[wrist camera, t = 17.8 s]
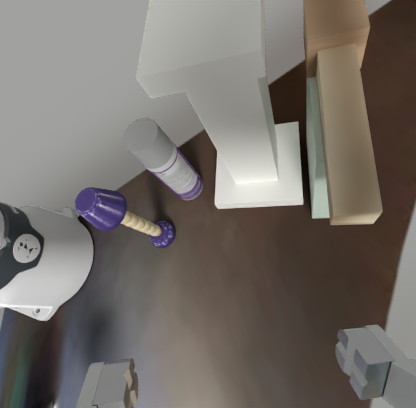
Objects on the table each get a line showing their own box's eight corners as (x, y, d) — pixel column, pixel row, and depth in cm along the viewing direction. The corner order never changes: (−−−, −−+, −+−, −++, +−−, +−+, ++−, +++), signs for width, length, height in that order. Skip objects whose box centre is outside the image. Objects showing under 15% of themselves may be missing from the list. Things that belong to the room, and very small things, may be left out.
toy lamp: (171, 253, 42) (97, 222, 27) (144, 249, 43) (60, 218, 28) (178, 222, 43) (111, 177, 28) (152, 220, 45) (75, 176, 30)
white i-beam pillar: (218, 208, 42) (109, 84, 18) (221, 139, 46) (135, -35, 22) (303, 204, 38) (299, 41, 15) (298, 129, 42) (289, -92, 19)
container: (173, 179, 46) (120, 126, 33) (199, 169, 45) (155, 110, 32) (179, 204, 44) (123, 159, 31) (206, 194, 43) (161, 143, 30)
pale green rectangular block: (312, 218, 37) (316, 161, 23) (306, 140, 41) (306, 50, 27) (345, 217, 36) (371, 156, 21) (336, 136, 40) (353, 40, 25)
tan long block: (318, 225, 21) (321, 208, 17) (303, 37, 27) (303, -3, 24) (386, 223, 20) (403, 204, 16) (353, 26, 26) (361, -19, 22)
